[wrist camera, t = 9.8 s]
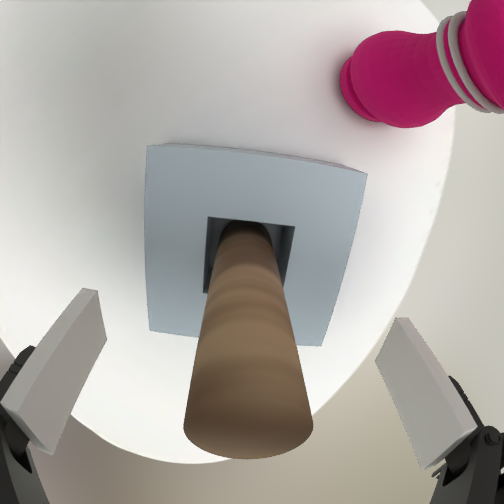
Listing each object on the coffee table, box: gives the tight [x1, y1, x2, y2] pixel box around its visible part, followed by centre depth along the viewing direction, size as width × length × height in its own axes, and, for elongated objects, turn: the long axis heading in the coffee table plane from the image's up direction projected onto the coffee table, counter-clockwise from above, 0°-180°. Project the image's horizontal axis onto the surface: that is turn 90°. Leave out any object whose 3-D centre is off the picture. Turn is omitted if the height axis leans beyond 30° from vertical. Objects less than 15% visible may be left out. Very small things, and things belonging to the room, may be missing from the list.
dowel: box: [183, 220, 313, 459], centre depth 15 cm, size 4×4×17 cm
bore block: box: [145, 143, 367, 346], centre depth 21 cm, size 14×14×5 cm
